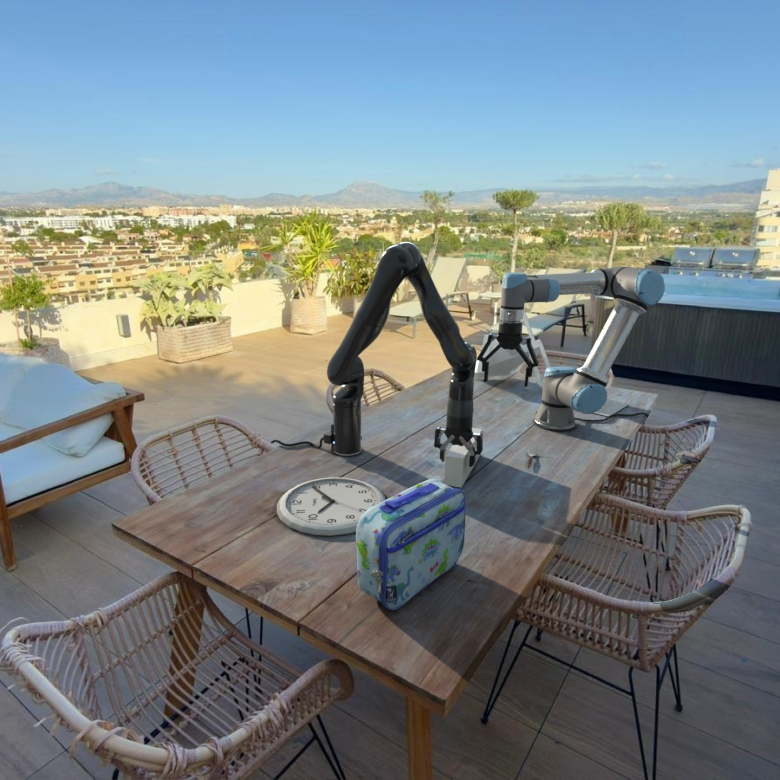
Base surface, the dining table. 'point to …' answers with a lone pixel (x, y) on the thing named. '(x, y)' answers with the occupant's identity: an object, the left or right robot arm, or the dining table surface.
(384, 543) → the lunch box
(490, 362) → the white plastic object
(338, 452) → the left robot arm
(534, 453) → the fork
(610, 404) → the invitation card
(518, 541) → the dining table surface
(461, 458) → the bar
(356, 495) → the wall clock
